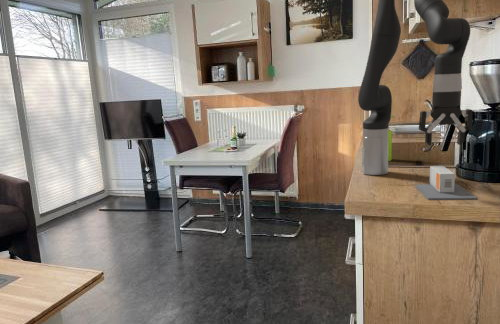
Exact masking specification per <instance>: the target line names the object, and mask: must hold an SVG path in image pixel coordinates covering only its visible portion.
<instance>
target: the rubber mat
mask: <svg viewBox="0 0 500 324" xmlns="http://www.w3.org/2000/svg"><path fill="white" fill-rule="evenodd" d="M414 187H415V188H416V189H417V190H418V191H419V192H420V193H421V194H422V195H423V197H425V199H427V200H432V201H435V200H438V201H439V200H442V201H443V200H444V201H445V200H451V201H452V200H454V201H455V200H477V199H478V198H477V196H475V195H473V194H472V193H471V192H470V191H468V190H466V189H465V188H463V187H462V186H461V185H460V184H458V183H454V192H449V193H440V192H439V191H438V190H436V189H435V188H434V187H433V186H432V185H431V184H430V183H429V184H425V183H424V184H423V183H422V184H414Z"/></svg>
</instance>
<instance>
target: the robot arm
mask: <svg viewBox="0 0 500 324" xmlns="http://www.w3.org/2000/svg"><path fill="white" fill-rule="evenodd" d="M413 1H414V2H413V5H414V9H415V11H416V12H417V14H418V15H419V16H420V19H422V21H423V22H424V24H425V27H426V31H427V34H428V38H429V39H430V40H431V42H432V43H434V44H436V45H448V47H447V49H446V51H445V52H442V53H439V54H438V55H436V57H435V60H434V70H433V71H434V76H433V82H432V97H431V98H432V99H431V100H432V101H431V109H430V110H429V111H428V110H421V111H420V113H419V122H418V130H419V131H421V132H424V133H425V134H424V138H425V139H424V143H426V144H427V146H429V147H430V146H432V140H433V137H432V136H433V134H432V131H434V129H435V128H436V127H437V126H438V125H439V126H445V125H448V126H451V125H454V127H455V128H456V129H457V130H458V131H457V140H456V144H457V145H459V146H462V145H463V143H465V137H466V132H467V131H471V130H472V129H473V109H470V108H466V109H461V106H462V105H461V104H462V102H461V101H462V89H463V85H462V84H463V83H462V81H463V78H462V67H463V58H464V55H465V52H466V49H467V45H468V42H469V40H470V37H471V26H470V23H469V21H468V20H467V19H465V18H463V17H461V18H460V17H458V18H457V17H455V18H453V17H452V18H449V16H450V9H449V7H448V5H447V4H446V3H445V2H444V0H413ZM395 4H396V3H395V0H378V4H377V9H376V10H377V11H376V15H375V21H374V26H373V30H372V36H371V40H370V46H369V47H370V48H369V52H368V57H367V62H366V66H365V70H364V73H363V74H364V75H363V78H362V82H361V85H360V87H359V90H358V91H359V92H358V95H357V96H358V98H357V99H358V100H357V102H358V105H359V107H360V109H361V110H363V111H365V112H369V111H370V115H369V116H368V117H367V118H366V119H365V120H363V121H362V122H363V123H362V147H361V150H362V152H361V163H362V165H361V166H362V167H361V170H362V173H363V175H370V176H382V175H387V174H389V161H388V125H389V124H390V122H391V120H392V119H391V118H392V117H391V115H392V107H393V99H392V98H393V97H392V91H391V90H390V88H389V87H388V86H386V85H383V84H381V78H382V76H383V74H384V71H385V70H386V68H387V66H388V65H389V64H390V62H391V61H392V59H393V58H394V56H395V55H396V53H397V50H398V47H399V43H400V38H401V35H402V34H401V33H402V31H401V30H402V29H401V23H400V20H399V17H398V16H399V15H398V14H397V10H396V5H395ZM461 115H462V116H463V117H464V126H463V124H462V122H461V121H460V119H459V118H460V117H461ZM429 116H430V117H431V118H432V120H431V121H430V122H429V123H428V125H427V126H426V121H427V119H428V118H429Z"/></svg>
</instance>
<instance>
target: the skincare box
mask: <svg viewBox="0 0 500 324" xmlns="http://www.w3.org/2000/svg"><path fill="white" fill-rule="evenodd" d="M455 175H456V174H455V173H454V172H453V171H451V170H450V169H448V168H447V167H446V166H445V165H430V166H429V184H431V185H432V186H433V187H434V188H435V189H436V190H438V191H439V192H440V193H449V192H454V184H455Z"/></svg>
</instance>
